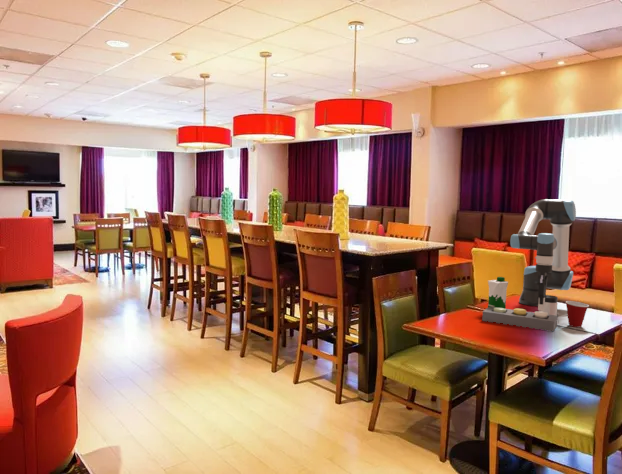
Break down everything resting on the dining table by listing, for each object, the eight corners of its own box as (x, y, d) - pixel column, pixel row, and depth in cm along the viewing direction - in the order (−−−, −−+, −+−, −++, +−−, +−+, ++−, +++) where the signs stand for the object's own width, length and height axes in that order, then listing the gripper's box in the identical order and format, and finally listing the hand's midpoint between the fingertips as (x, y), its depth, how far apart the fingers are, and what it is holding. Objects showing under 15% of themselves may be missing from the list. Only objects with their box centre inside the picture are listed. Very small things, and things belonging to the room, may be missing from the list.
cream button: (535, 314, 256) (535, 310, 256) (548, 316, 253) (548, 312, 253) (533, 316, 251) (533, 312, 251) (546, 318, 248) (546, 314, 248)
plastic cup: (590, 329, 248) (592, 305, 247) (567, 327, 250) (569, 304, 249) (583, 323, 259) (585, 301, 257) (561, 322, 261) (562, 299, 260)
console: (488, 315, 273) (489, 306, 272) (557, 325, 254) (557, 315, 254) (482, 320, 261) (482, 311, 261) (553, 331, 243) (554, 321, 242)
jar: (559, 318, 268) (561, 297, 267) (552, 321, 263) (554, 299, 261) (543, 315, 275) (544, 294, 274) (536, 317, 270) (537, 296, 268)
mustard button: (514, 311, 261) (514, 307, 261) (527, 313, 258) (527, 309, 258) (512, 313, 256) (512, 310, 256) (524, 315, 253) (525, 311, 253)
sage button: (494, 310, 267) (495, 307, 267) (506, 312, 264) (506, 308, 263) (492, 312, 262) (492, 309, 262) (504, 314, 259) (504, 310, 258)
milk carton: (508, 313, 277) (510, 278, 275) (496, 315, 273) (498, 279, 272) (496, 310, 285) (498, 275, 283) (484, 311, 281) (486, 276, 279)
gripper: (537, 262, 257) (535, 306, 259) (533, 264, 246) (530, 311, 248) (553, 263, 253) (551, 308, 255) (550, 266, 242) (547, 313, 244)
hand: (541, 310), depth 252 cm, fingers closed
